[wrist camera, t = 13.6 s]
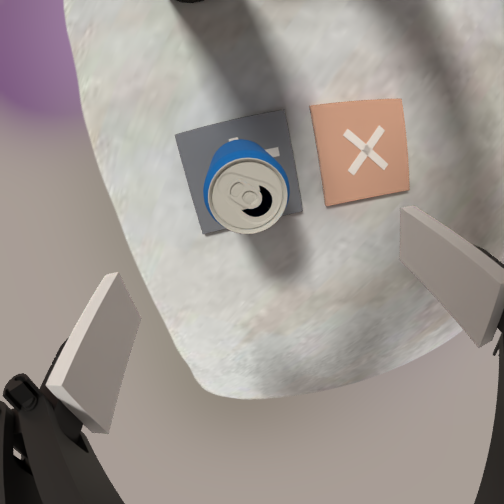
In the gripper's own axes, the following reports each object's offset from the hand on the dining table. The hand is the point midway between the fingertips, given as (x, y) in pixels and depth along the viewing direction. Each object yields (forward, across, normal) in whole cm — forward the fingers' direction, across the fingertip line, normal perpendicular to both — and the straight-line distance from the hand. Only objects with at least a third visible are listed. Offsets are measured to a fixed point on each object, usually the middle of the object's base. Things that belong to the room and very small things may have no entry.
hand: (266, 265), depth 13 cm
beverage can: (+21, 0, 0) cm, 21 cm away
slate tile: (+22, 0, 0) cm, 22 cm away
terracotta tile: (+22, +15, 0) cm, 26 cm away
